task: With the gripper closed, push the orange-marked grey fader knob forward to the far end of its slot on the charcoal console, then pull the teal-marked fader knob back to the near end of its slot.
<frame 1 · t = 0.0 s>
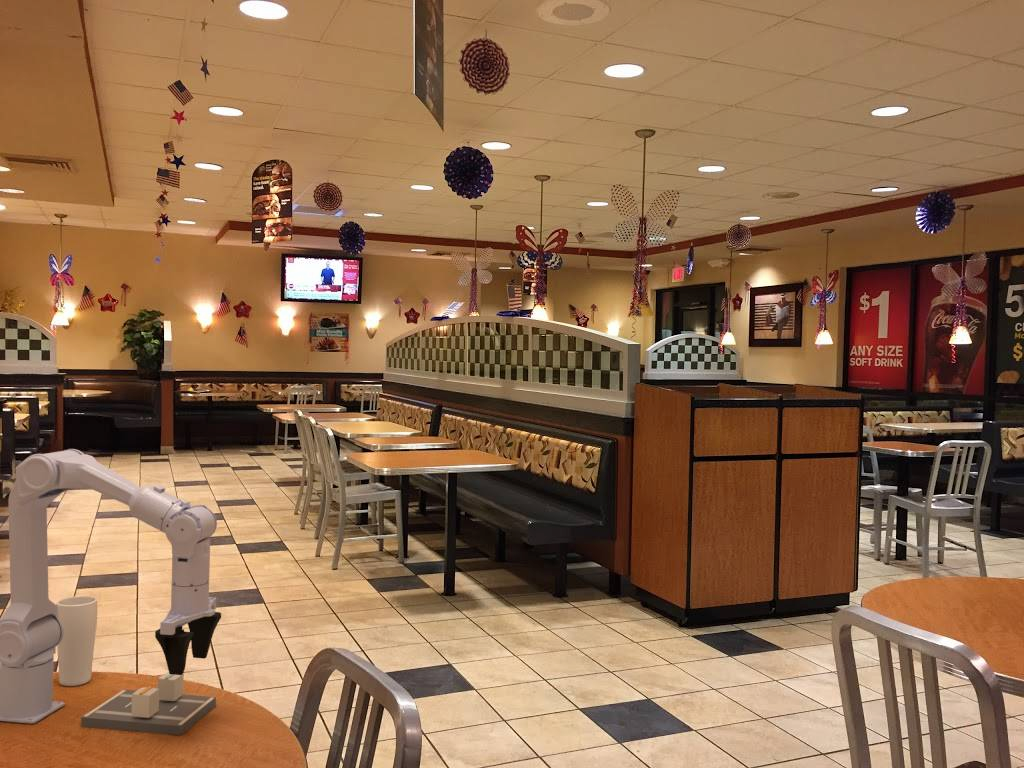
hand: (188, 665, 138), 10 cm above the table, fingers open, 7 cm apart
drinking glass: (75, 683, 156), on the table
fader a: (145, 701, 139), point 4 cm above the table, slide at 0.0 cm
fader b: (170, 685, 146), point 4 cm above the table, slide at 0.0 cm
console: (150, 715, 142), on the table
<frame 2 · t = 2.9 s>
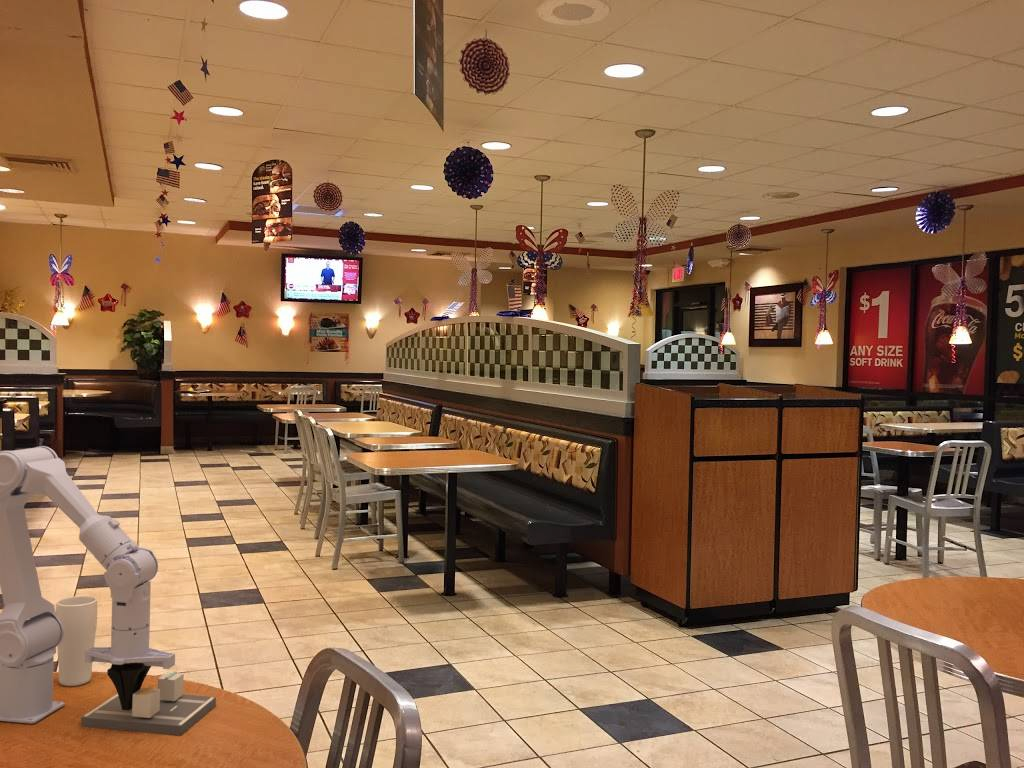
hand: (128, 708, 139), 3 cm above the table, fingers closed
fader a: (146, 701, 139), point 4 cm above the table, slide at 0.1 cm, touching gripper
everything else where it was.
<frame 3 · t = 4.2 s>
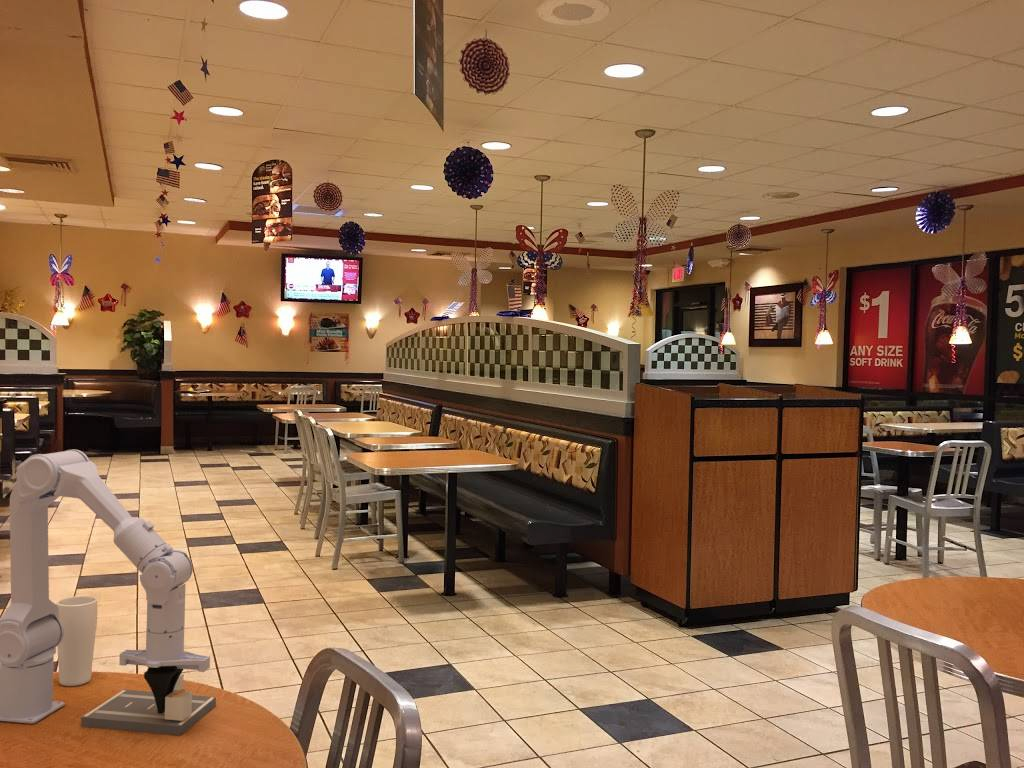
hand: (163, 711, 138), 3 cm above the table, fingers closed
fader a: (178, 704, 138), point 4 cm above the table, slide at 5.7 cm, touching gripper
everything else where it was.
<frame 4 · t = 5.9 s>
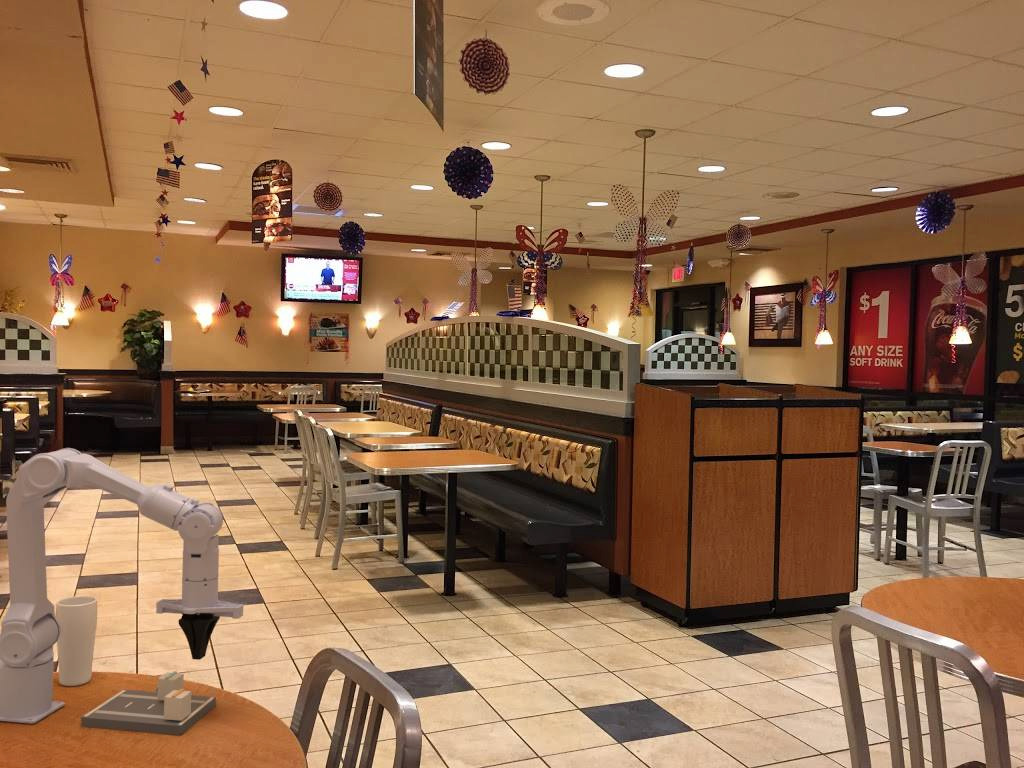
hand: (198, 657, 144), 10 cm above the table, fingers closed
fader a: (177, 704, 138), point 4 cm above the table, slide at 5.5 cm
everything else where it was.
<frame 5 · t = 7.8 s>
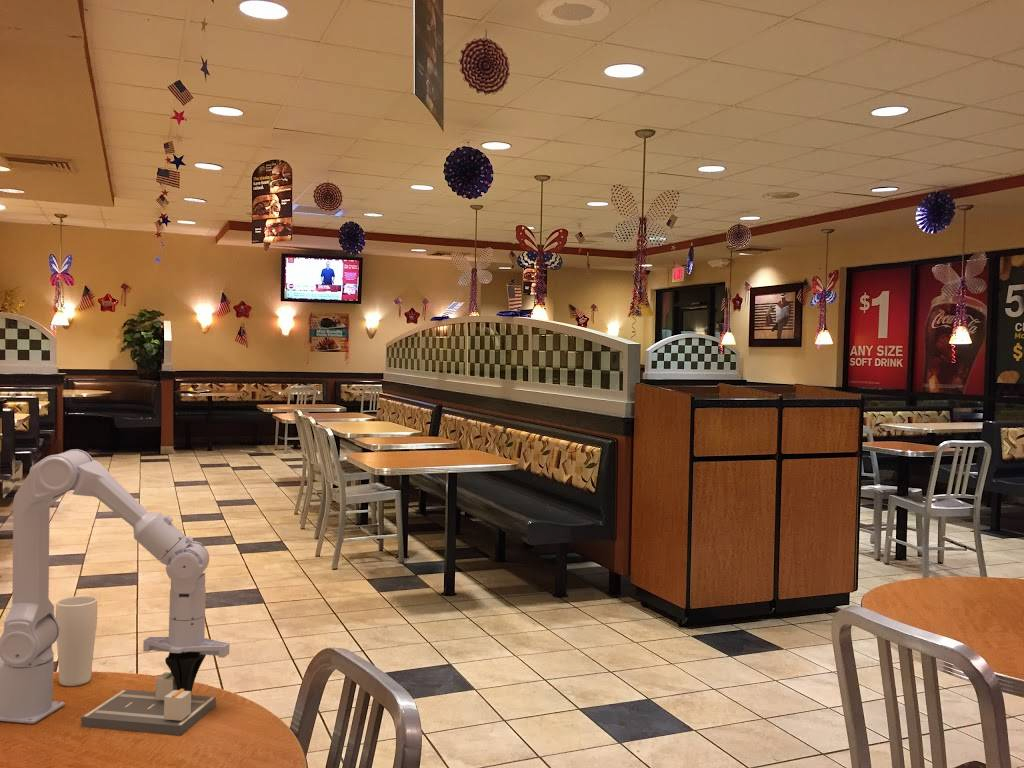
hand: (185, 695, 145), 2 cm above the table, fingers closed
fader b: (168, 685, 146), point 4 cm above the table, slide at -0.4 cm, touching gripper
everything else where it was.
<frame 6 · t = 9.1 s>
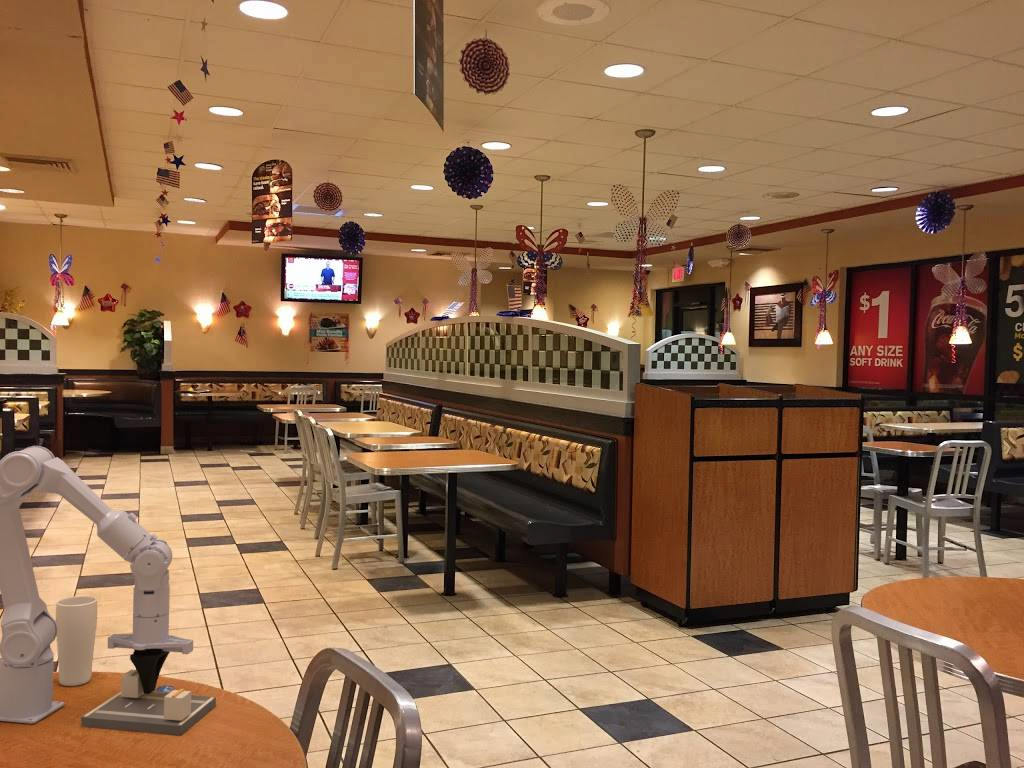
hand: (149, 691, 146), 3 cm above the table, fingers closed
fader b: (134, 682, 146), point 4 cm above the table, slide at -6.6 cm, touching gripper
everything else where it was.
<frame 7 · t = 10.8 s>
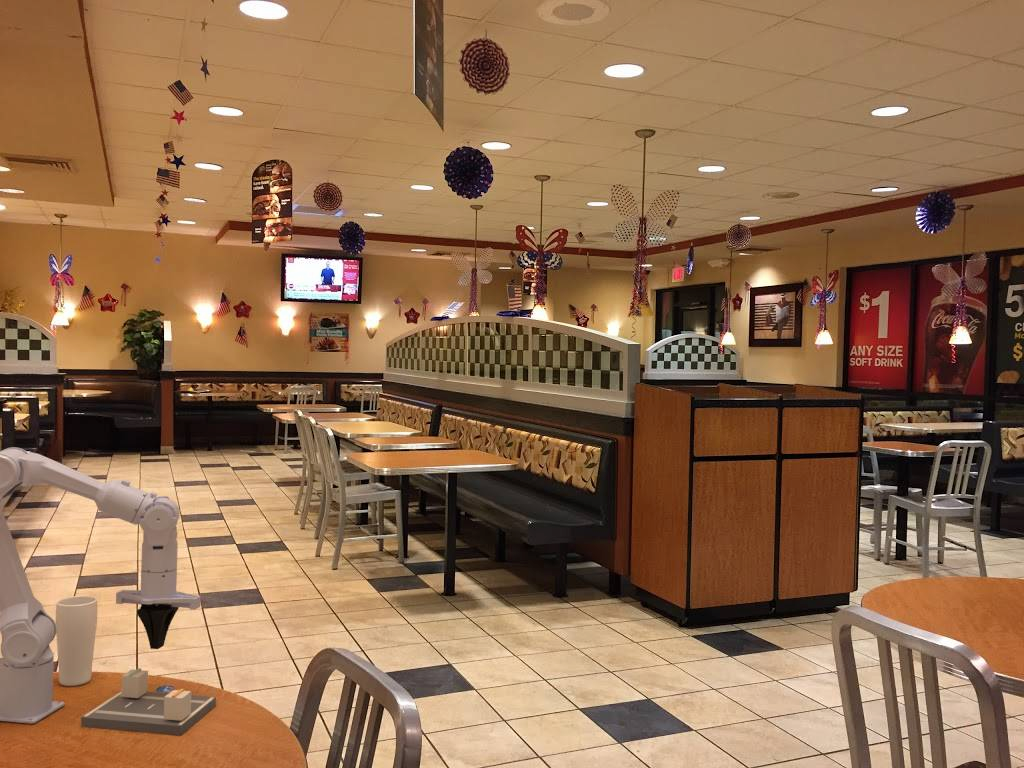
hand: (157, 647, 147), 10 cm above the table, fingers closed
fader b: (134, 682, 146), point 4 cm above the table, slide at -6.5 cm
everything else where it was.
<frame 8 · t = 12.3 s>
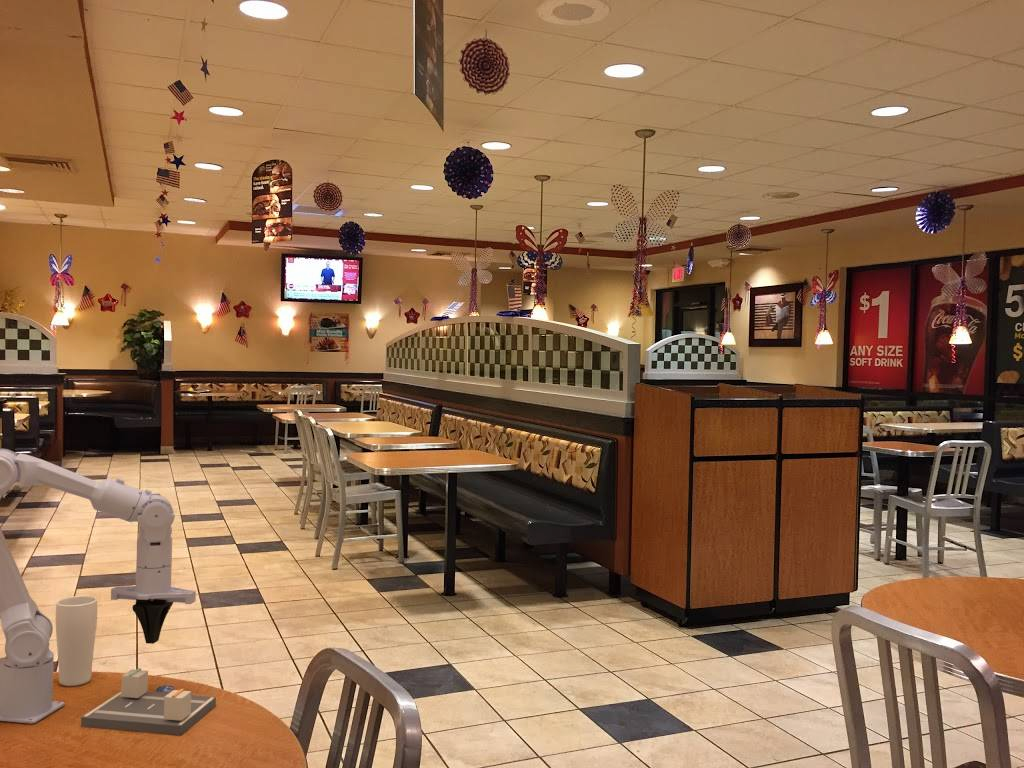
hand: (152, 641, 150), 10 cm above the table, fingers closed
nothing on the table moved.
at the end: fader a slide at 5.5 cm; fader b slide at -6.5 cm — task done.
